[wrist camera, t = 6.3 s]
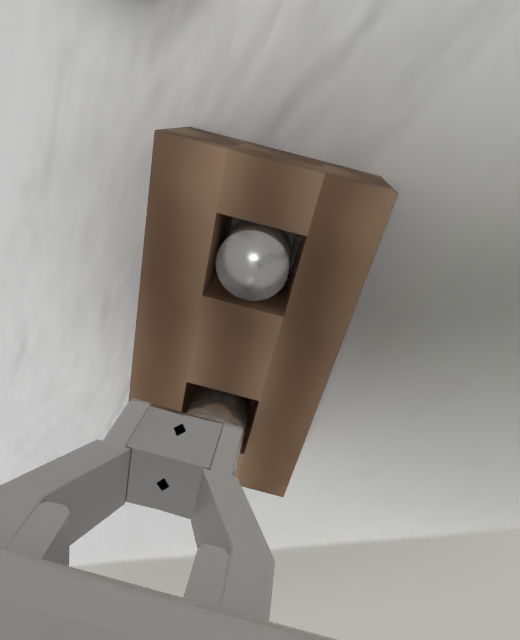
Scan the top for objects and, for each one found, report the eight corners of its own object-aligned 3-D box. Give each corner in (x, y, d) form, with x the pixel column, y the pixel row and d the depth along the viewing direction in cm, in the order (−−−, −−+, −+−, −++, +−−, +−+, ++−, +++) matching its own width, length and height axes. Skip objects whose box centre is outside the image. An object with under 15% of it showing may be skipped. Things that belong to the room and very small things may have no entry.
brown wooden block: (380, 176, 25) (398, 193, 19) (288, 438, 35) (283, 497, 30) (189, 126, 25) (154, 130, 20) (152, 403, 35) (123, 455, 30)
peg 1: (255, 388, 28) (241, 449, 23) (243, 431, 30) (228, 497, 24) (198, 373, 28) (172, 431, 23) (189, 417, 30) (164, 479, 25)
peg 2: (301, 216, 26) (297, 241, 21) (285, 273, 28) (278, 308, 23) (240, 201, 26) (222, 221, 21) (229, 259, 28) (210, 290, 23)
